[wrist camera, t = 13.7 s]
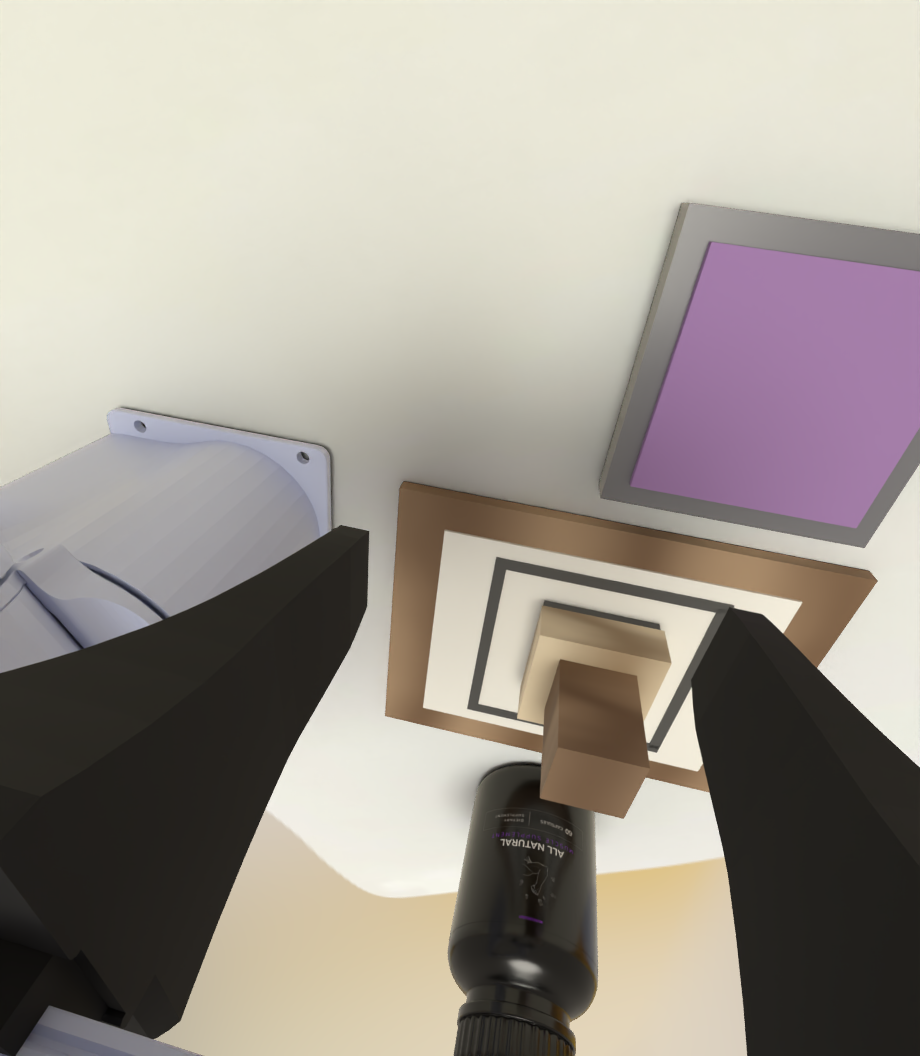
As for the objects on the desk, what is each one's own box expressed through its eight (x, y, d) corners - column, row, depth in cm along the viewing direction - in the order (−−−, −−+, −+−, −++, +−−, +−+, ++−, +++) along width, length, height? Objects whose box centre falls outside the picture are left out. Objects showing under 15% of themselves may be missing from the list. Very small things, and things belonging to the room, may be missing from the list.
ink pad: (599, 483, 20) (600, 501, 18) (681, 203, 15) (692, 202, 14) (848, 529, 19) (868, 552, 18) (1022, 249, 14) (1067, 253, 13)
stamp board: (388, 707, 29) (384, 718, 28) (403, 481, 21) (398, 489, 20) (723, 785, 27) (727, 799, 26) (869, 571, 19) (879, 583, 19)
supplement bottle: (555, 747, 28) (546, 1052, 18) (615, 819, 30) (637, 1125, 20) (453, 775, 31) (395, 1050, 21) (514, 838, 33) (489, 1114, 23)
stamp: (521, 678, 25) (507, 807, 19) (542, 597, 22) (533, 720, 17) (627, 702, 24) (643, 840, 19) (662, 622, 22) (692, 757, 16)
